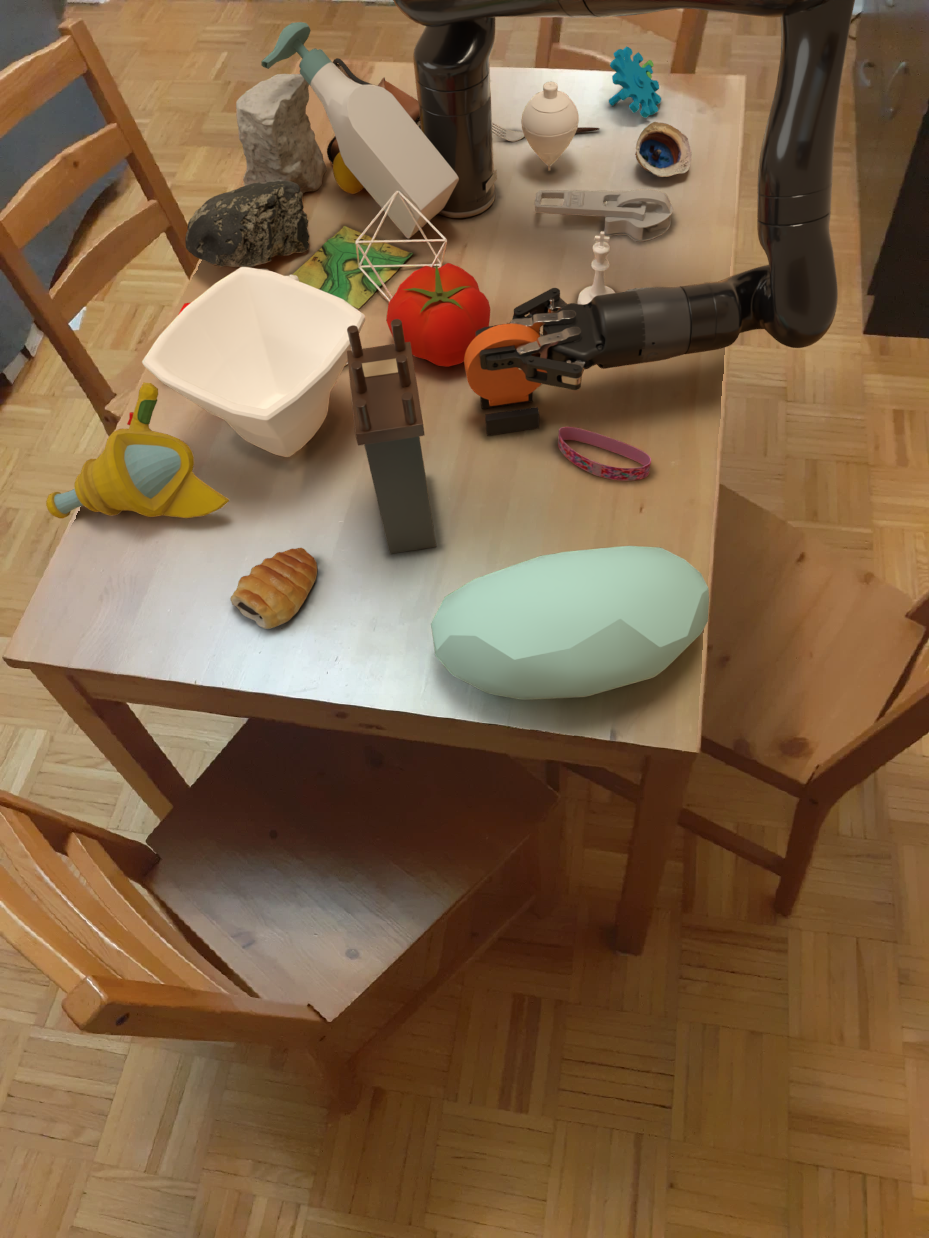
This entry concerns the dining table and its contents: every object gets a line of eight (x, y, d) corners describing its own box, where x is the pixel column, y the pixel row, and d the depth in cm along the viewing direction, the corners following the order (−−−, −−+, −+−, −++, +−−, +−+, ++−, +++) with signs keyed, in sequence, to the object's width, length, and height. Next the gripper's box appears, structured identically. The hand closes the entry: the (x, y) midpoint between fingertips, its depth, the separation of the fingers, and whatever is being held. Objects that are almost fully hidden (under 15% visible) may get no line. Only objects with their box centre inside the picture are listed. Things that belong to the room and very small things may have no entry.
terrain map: (344, 224, 126) (344, 227, 127) (288, 276, 122) (289, 279, 122) (413, 252, 122) (413, 255, 123) (358, 307, 118) (358, 310, 118)
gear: (647, 123, 132) (607, 59, 128) (616, 146, 136) (577, 84, 133) (675, 93, 138) (638, 31, 134) (645, 116, 142) (608, 56, 139)
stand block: (426, 481, 103) (407, 359, 88) (436, 547, 98) (418, 430, 83) (381, 488, 103) (355, 367, 87) (389, 554, 98) (362, 438, 83)
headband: (548, 459, 103) (548, 445, 102) (562, 435, 105) (563, 421, 103) (639, 491, 100) (642, 477, 98) (653, 466, 102) (655, 452, 100)
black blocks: (531, 395, 109) (531, 379, 106) (539, 428, 106) (539, 413, 104) (480, 403, 108) (479, 387, 106) (487, 436, 106) (486, 420, 104)
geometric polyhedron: (419, 242, 124) (418, 180, 116) (465, 290, 119) (468, 230, 111) (338, 276, 120) (331, 215, 112) (383, 327, 116) (379, 267, 108)
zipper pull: (538, 200, 127) (538, 171, 124) (671, 205, 125) (676, 175, 121) (532, 238, 123) (532, 209, 120) (669, 243, 121) (674, 214, 117)
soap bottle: (398, 248, 125) (254, 77, 119) (443, 209, 126) (302, 37, 120) (411, 221, 114) (254, 31, 109) (459, 178, 115) (306, -13, 109)
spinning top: (586, 163, 131) (590, 77, 120) (559, 193, 128) (561, 107, 117) (539, 148, 133) (539, 63, 123) (511, 178, 130) (509, 92, 120)
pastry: (287, 546, 100) (279, 525, 96) (335, 574, 97) (329, 554, 94) (228, 609, 96) (218, 589, 93) (277, 640, 94) (268, 621, 90)
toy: (-10, 440, 96) (53, 573, 100) (149, 371, 91) (211, 513, 94) (47, 431, 106) (103, 553, 109) (194, 368, 101) (249, 498, 104)
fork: (599, 137, 134) (600, 124, 132) (489, 143, 135) (488, 130, 133) (598, 127, 135) (599, 113, 133) (489, 133, 136) (488, 119, 134)
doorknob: (391, 201, 127) (400, 177, 132) (369, 143, 122) (379, 119, 127) (342, 216, 129) (352, 191, 135) (318, 159, 124) (329, 135, 129)
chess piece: (614, 317, 114) (621, 248, 106) (574, 314, 115) (578, 245, 107) (619, 290, 117) (626, 220, 108) (580, 287, 118) (584, 217, 109)
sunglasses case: (380, 173, 131) (352, 130, 127) (347, 188, 136) (318, 147, 132) (432, 103, 139) (407, 60, 135) (398, 120, 144) (373, 79, 140)
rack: (412, 353, 88) (406, 316, 84) (424, 436, 82) (419, 399, 79) (349, 362, 88) (340, 325, 84) (357, 445, 82) (349, 410, 79)
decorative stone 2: (675, 766, 88) (766, 633, 78) (423, 725, 82) (487, 573, 72) (640, 665, 99) (716, 536, 89) (416, 621, 93) (471, 477, 83)
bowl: (302, 518, 101) (271, 430, 89) (169, 452, 107) (124, 362, 95) (397, 406, 109) (381, 312, 97) (269, 351, 115) (238, 255, 103)
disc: (544, 382, 105) (546, 317, 97) (548, 398, 104) (550, 333, 96) (466, 394, 105) (461, 330, 97) (469, 409, 104) (464, 345, 96)
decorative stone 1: (284, 155, 136) (260, 52, 123) (336, 172, 133) (317, 69, 121) (242, 195, 132) (213, 94, 119) (295, 214, 129) (271, 112, 116)
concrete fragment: (239, 193, 130) (192, 285, 128) (206, 139, 120) (155, 238, 118) (329, 219, 126) (283, 314, 124) (303, 166, 116) (252, 268, 114)
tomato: (388, 314, 117) (379, 257, 110) (486, 303, 117) (483, 245, 110) (393, 387, 110) (383, 331, 103) (497, 375, 110) (495, 318, 103)
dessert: (637, 115, 125) (624, 160, 130) (645, 136, 121) (631, 181, 125) (693, 126, 127) (678, 169, 131) (703, 147, 122) (687, 191, 127)
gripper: (627, 254, 99) (466, 277, 99) (659, 345, 92) (486, 371, 92) (621, 310, 105) (470, 332, 105) (650, 399, 98) (489, 423, 98)
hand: (478, 350), depth 98 cm, fingers closed on disc, 2 cm apart
